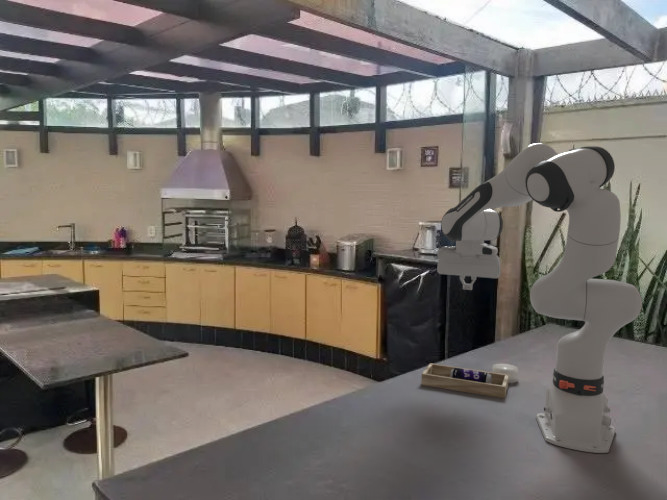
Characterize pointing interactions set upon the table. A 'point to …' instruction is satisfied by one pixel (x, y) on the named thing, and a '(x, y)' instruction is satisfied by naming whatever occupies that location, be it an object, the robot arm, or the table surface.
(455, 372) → the beverage can
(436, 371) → the wooden tray
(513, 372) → the soap bar
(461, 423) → the table surface
